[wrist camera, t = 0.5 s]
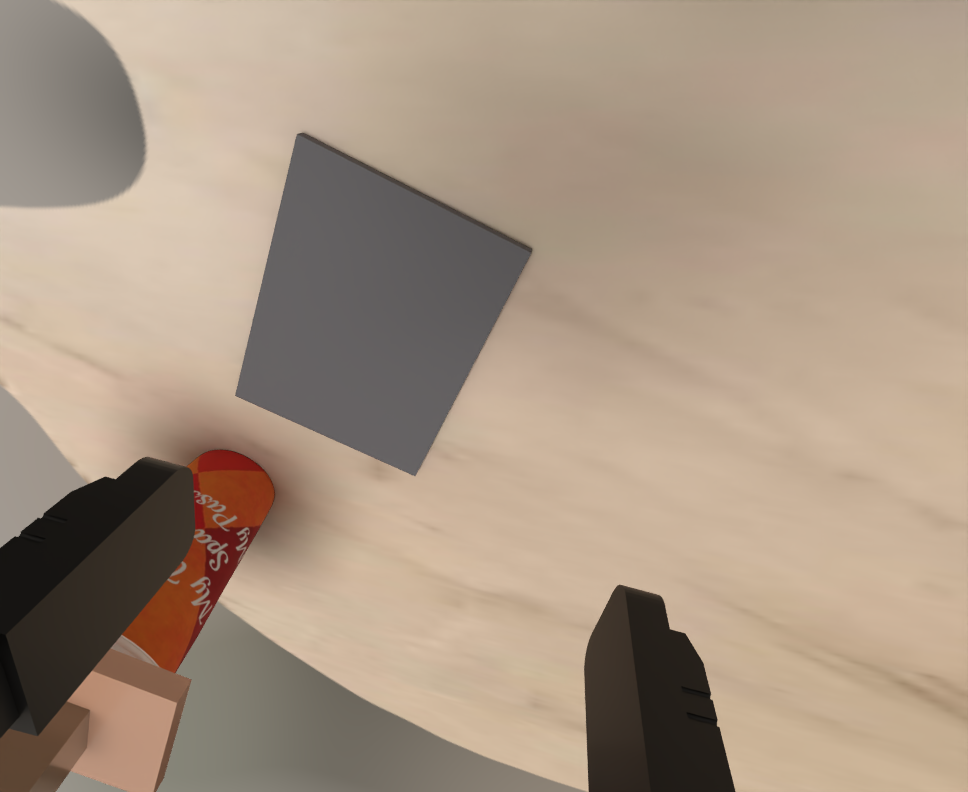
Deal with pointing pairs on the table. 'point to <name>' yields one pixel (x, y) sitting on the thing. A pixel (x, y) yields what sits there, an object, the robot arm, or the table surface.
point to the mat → (371, 306)
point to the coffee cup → (202, 558)
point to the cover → (102, 731)
